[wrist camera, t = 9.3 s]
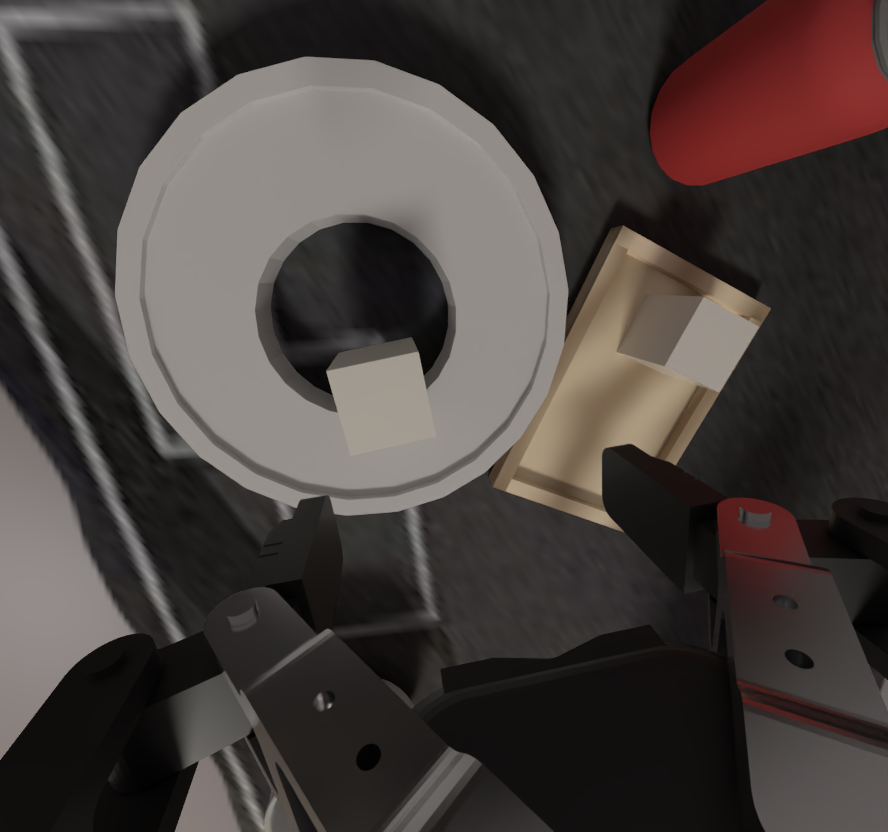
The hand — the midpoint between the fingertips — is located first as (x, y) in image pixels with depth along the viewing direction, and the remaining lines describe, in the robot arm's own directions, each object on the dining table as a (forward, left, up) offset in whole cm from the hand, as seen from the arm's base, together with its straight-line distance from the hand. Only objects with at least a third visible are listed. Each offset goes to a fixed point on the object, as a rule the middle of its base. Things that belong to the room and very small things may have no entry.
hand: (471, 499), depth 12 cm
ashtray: (+5, -2, -17) cm, 17 cm away
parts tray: (-13, -4, -16) cm, 21 cm away
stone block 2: (-13, -9, -15) cm, 22 cm away
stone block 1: (+3, 0, -12) cm, 13 cm away
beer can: (-9, -20, -16) cm, 27 cm away
